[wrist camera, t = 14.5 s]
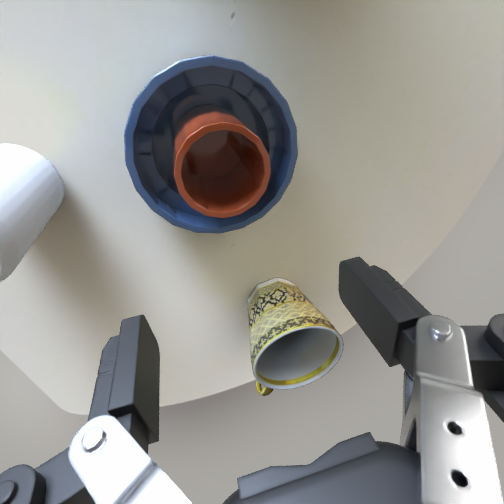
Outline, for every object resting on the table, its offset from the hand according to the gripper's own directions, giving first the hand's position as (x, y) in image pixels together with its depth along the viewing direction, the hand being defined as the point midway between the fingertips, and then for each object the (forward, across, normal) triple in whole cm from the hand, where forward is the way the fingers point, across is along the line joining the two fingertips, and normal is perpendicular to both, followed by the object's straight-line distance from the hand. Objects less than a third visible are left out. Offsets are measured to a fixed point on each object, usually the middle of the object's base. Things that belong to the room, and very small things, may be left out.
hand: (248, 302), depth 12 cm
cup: (+19, -1, -2) cm, 19 cm away
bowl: (+20, -1, -2) cm, 20 cm away
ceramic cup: (+20, -4, +20) cm, 29 cm away
